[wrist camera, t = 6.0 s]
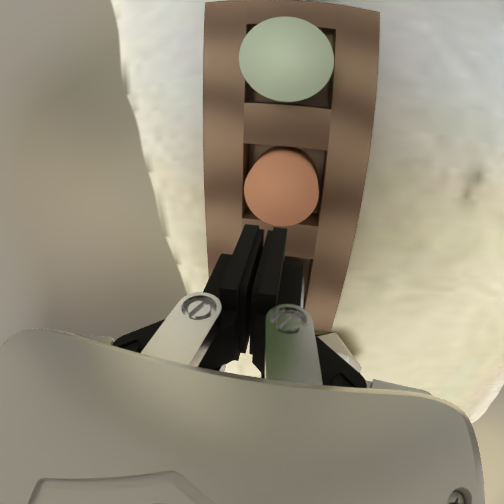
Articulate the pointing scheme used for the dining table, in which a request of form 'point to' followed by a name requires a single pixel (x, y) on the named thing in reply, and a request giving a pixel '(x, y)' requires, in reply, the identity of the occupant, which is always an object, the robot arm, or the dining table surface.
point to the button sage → (286, 59)
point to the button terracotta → (282, 186)
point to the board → (291, 138)
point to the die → (340, 349)
